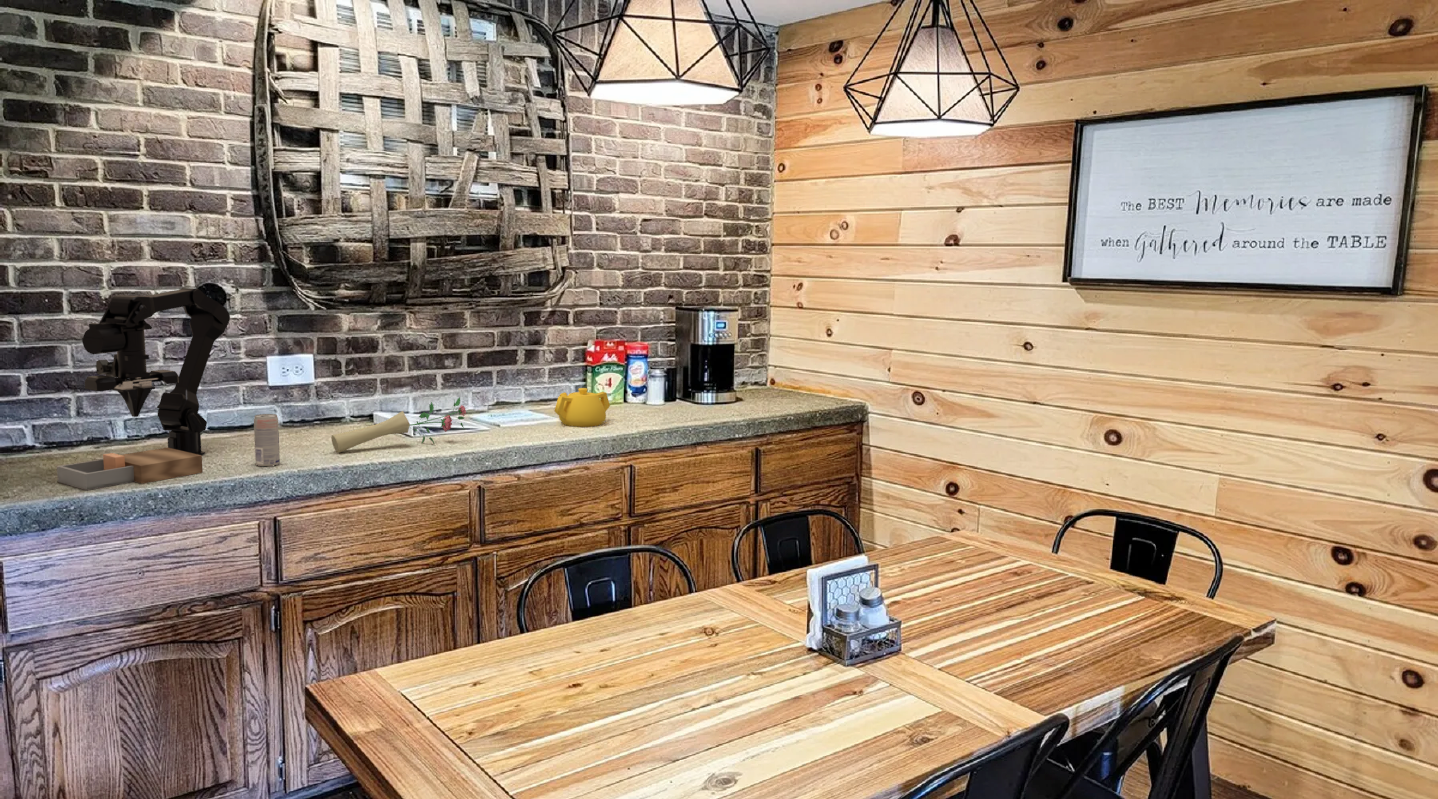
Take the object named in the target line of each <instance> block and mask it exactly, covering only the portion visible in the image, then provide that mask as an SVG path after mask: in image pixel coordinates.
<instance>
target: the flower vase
mask: <svg viewBox="0 0 1438 799" xmlns="http://www.w3.org/2000/svg"><path fill="white" fill-rule="evenodd" d="M453 401H454V402H453V405H452V407H453V410H452V413H448V414H446V415H445V414H444V415H442V416H439V417H436V418H435V417H434V418H431V419H429V418H430V416H431V415H430V414H432V413H433V411H434V409H435V408H434V404H433V402H432V401H430V404H429V413H428V412H425V411H424V412H422V413H420V414H419V415H418V418H419V419H425V418H426V420H424V421H421V420H419V421H418V420H416V423H411V424H410V422H409V420H408V418H407V416H406V414H405V412H404V411H403V410H402V411H400V412H398V413H396V414H395V415H393V416H392V417H390V418H388V419H386V420H383V421H381V422H379V423H376V424H373V425H369V426H365V427H362V428H357V429H354V430H350V431H345V432H341V433H336V434H332V435H331V443H332V446H333V448H334V450H335V452H336V453H337V454H340V453H343V452H344V451H347V450H349V449H351V448H355V447H356V446H358V445H361V444H364V443H367V442H369V441H372V440H374V439H377V438H381V437H384V436H388V435H396V434H397V435H398V434H407V433H409V429H410V428H411V427H412V426H418V428H419V429H421V431H422V432H423V436H422V439H421V440H422V441H421V444H423V443H425V441H426V436H427V434H431V431H430V429H429V428H428V427H426V430H425V429H422V428H420V426H421V425H426V424H439V423H440V425H441V426H440V428H442V429H443V431H444V432H445V433H447V432H448V431H449V430H451V428H452V425H453V423H452V422H455V421H456V420H459V421H461V420H464V419H465V417H464V416H465V415H466V413H467V412H466V411H467V410H466V408H465V406H464V405H462V404H461V397H460V396H459V397H458V398H457V400H455V398H454V399H453ZM456 407H459V408H458V409H457V411H456V412H454V409H455V408H456ZM457 413H459V416H457V418H456V419H452V417H451V415H454V414H457ZM438 419H440V421H434V420H438ZM458 424H460V426H461V427H462V429H463V430H465V429H464V424H463V423H462V422H460V423H459V422H458ZM410 426H411V427H410ZM413 430H414V431H416V432H417V433H418V434H419V435H420V436H421V433H420V431H418V430H417V429H416V428H412V431H413ZM424 431H425V432H427V434H426V433H425V432H424ZM428 439H429V440H430V441H431V443H432V444H433V445H434V446H436V444H435V441H434V440H433V437H431V436H430V437H428Z"/></svg>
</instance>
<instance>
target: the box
mask: <svg viewBox="0 0 1438 799" xmlns="http://www.w3.org/2000/svg"><path fill="white" fill-rule="evenodd" d="M56 477H57V482H58V483H60V484H64V485H67V486H71V487H74V488H78V489H82V490H85V491H91V490H96V489H101V488H106V487H112V486H118V485H123V484H127V483H135V482H134V467H133V466H127V467H121V468H115V469H109V470H104V462H103V458H100V459H93V460H87V461H81V462H75V463H70V464H69V463H68V464H61V465H57V466H56Z"/></svg>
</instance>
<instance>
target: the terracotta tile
mask: <svg viewBox="0 0 1438 799" xmlns="http://www.w3.org/2000/svg"><path fill="white" fill-rule="evenodd" d="M122 455H123V454H117V453H114V452H112V453H103V454H102V459H103V462H104V470H109V469H115V468H121V467H125V456H122Z"/></svg>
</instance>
